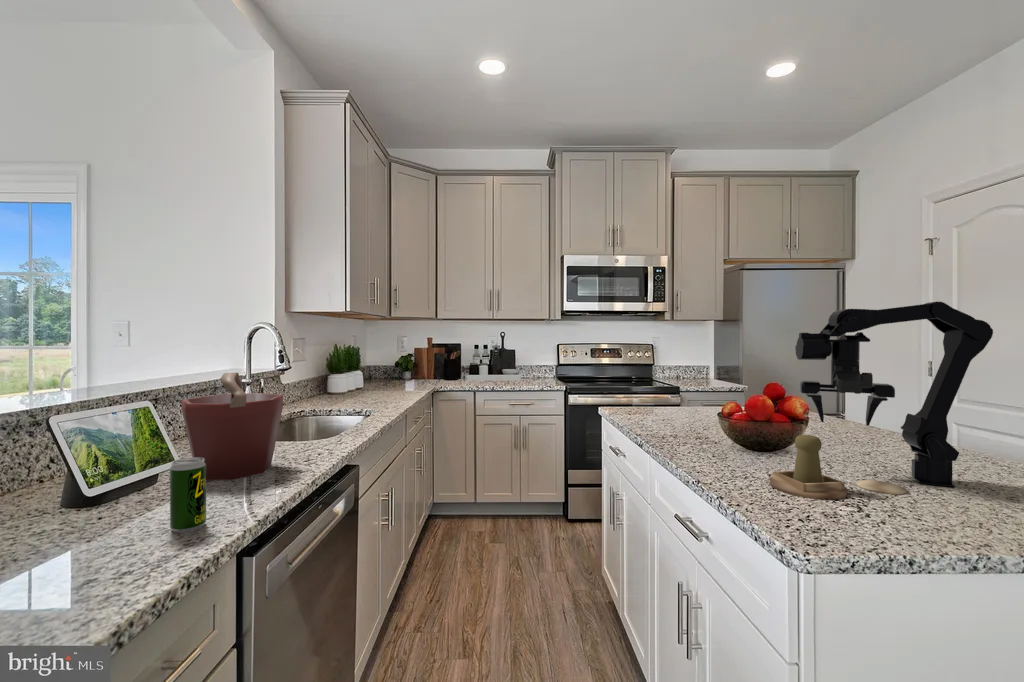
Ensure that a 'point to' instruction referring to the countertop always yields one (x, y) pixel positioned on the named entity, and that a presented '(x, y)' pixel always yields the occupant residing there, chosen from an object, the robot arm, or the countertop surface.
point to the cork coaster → (881, 487)
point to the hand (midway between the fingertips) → (844, 423)
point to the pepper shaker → (808, 459)
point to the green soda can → (187, 494)
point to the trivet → (808, 486)
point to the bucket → (233, 430)
